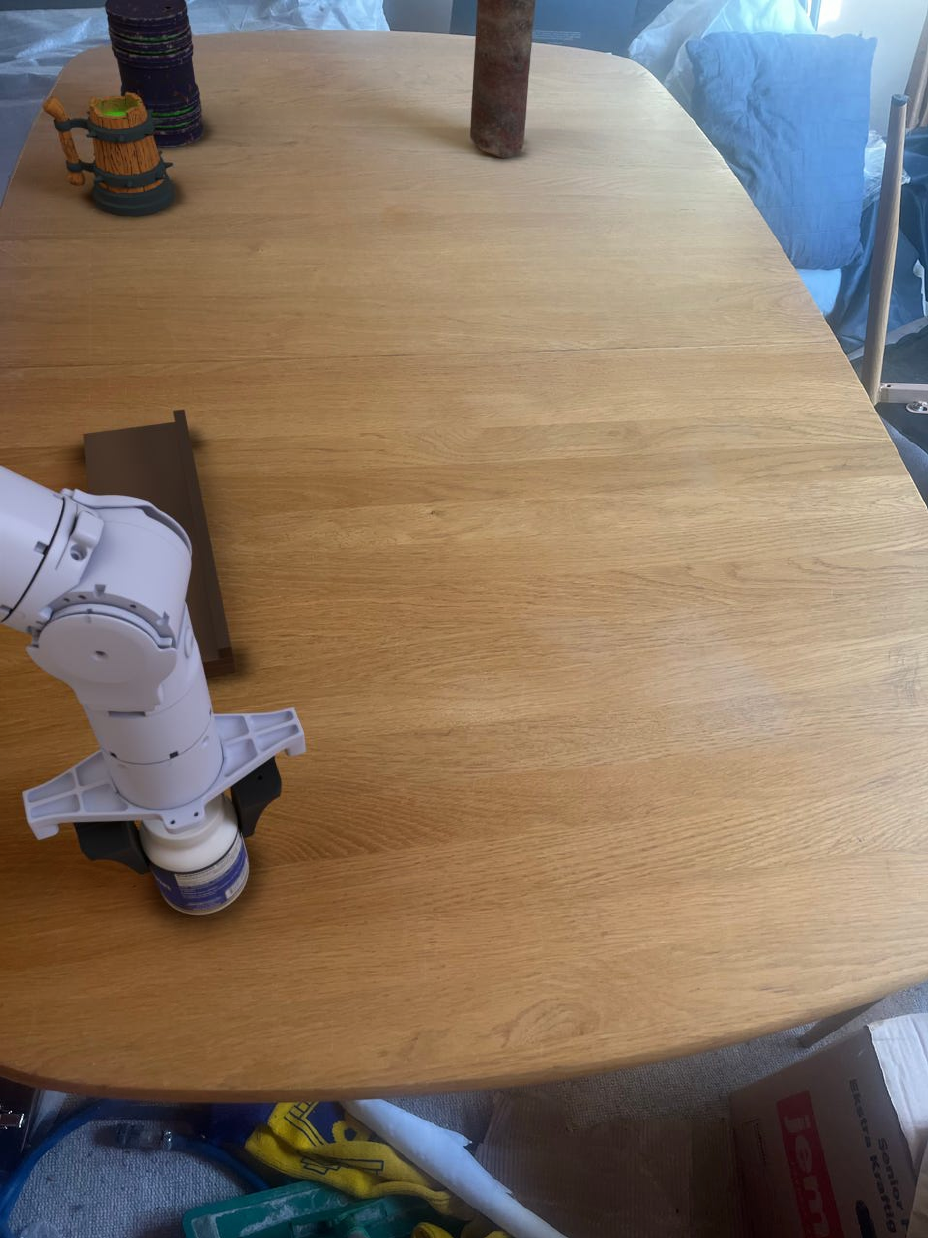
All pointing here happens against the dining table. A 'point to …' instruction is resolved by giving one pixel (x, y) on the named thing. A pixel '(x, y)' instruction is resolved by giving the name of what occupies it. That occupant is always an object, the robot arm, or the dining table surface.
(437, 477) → the dining table surface
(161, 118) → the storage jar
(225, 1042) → the dining table surface
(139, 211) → the mug
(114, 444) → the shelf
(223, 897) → the pill bottle
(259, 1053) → the dining table surface
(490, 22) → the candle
